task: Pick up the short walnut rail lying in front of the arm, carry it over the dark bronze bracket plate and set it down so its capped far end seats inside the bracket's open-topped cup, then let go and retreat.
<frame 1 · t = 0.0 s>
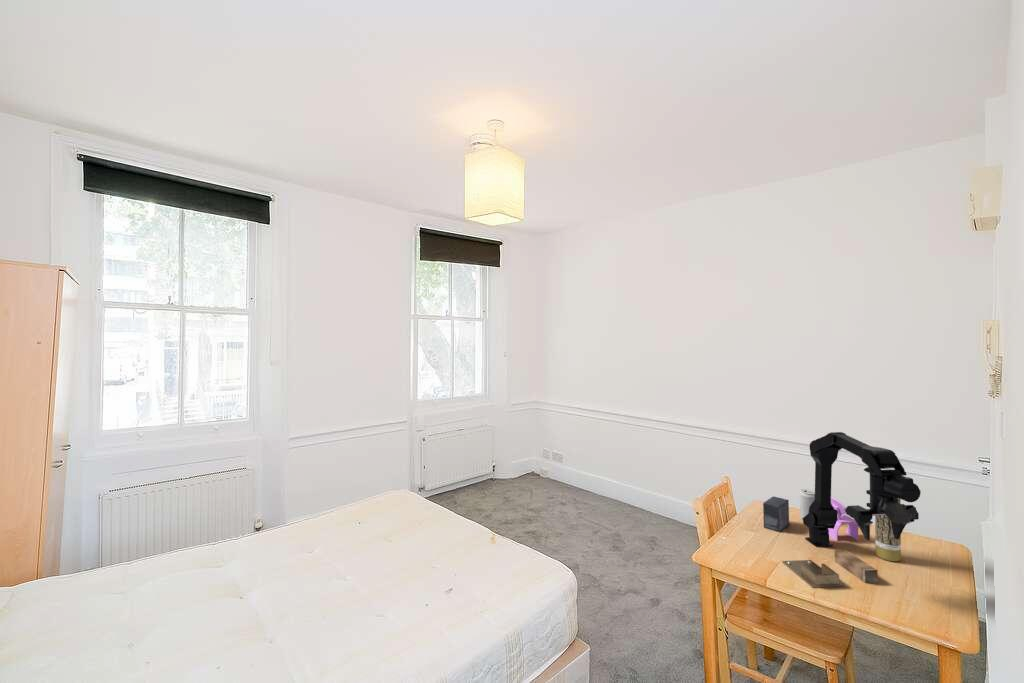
hand: (881, 539, 139), 15 cm above the table, fingers open, 9 cm apart
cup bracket: (810, 573, 148), on the table
walnut rail: (855, 571, 148), on the table
small box: (776, 526, 183), on the table
toy chair: (842, 537, 172), on the table
log-patterned cylinder: (888, 558, 156), on the table
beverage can: (809, 519, 188), on the table
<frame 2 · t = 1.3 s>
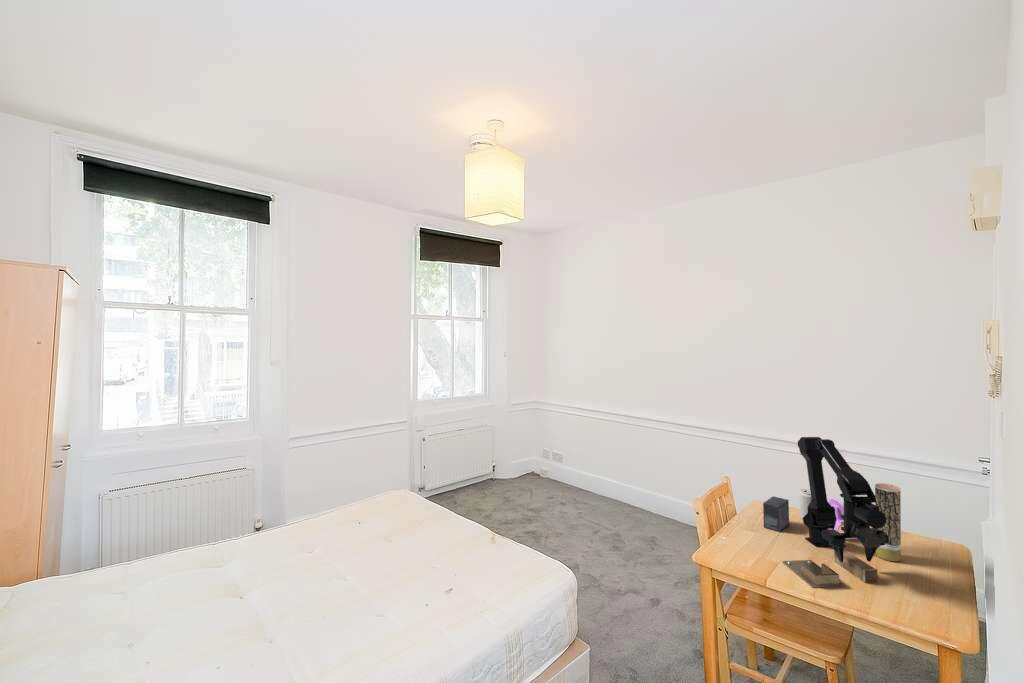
hand: (854, 561, 148), 3 cm above the table, fingers open, 9 cm apart
nothing on the table moved.
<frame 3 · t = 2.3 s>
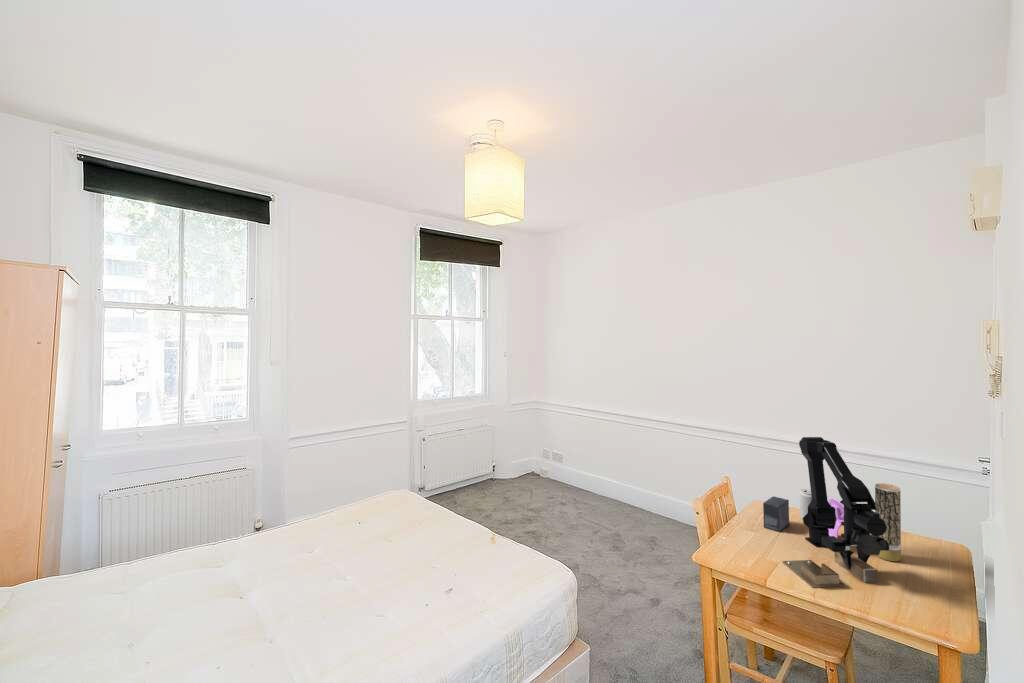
hand: (855, 568, 148), 1 cm above the table, fingers closed on walnut rail, 4 cm apart
walnut rail: (855, 571, 148), on the table, touching gripper
everything else where it was.
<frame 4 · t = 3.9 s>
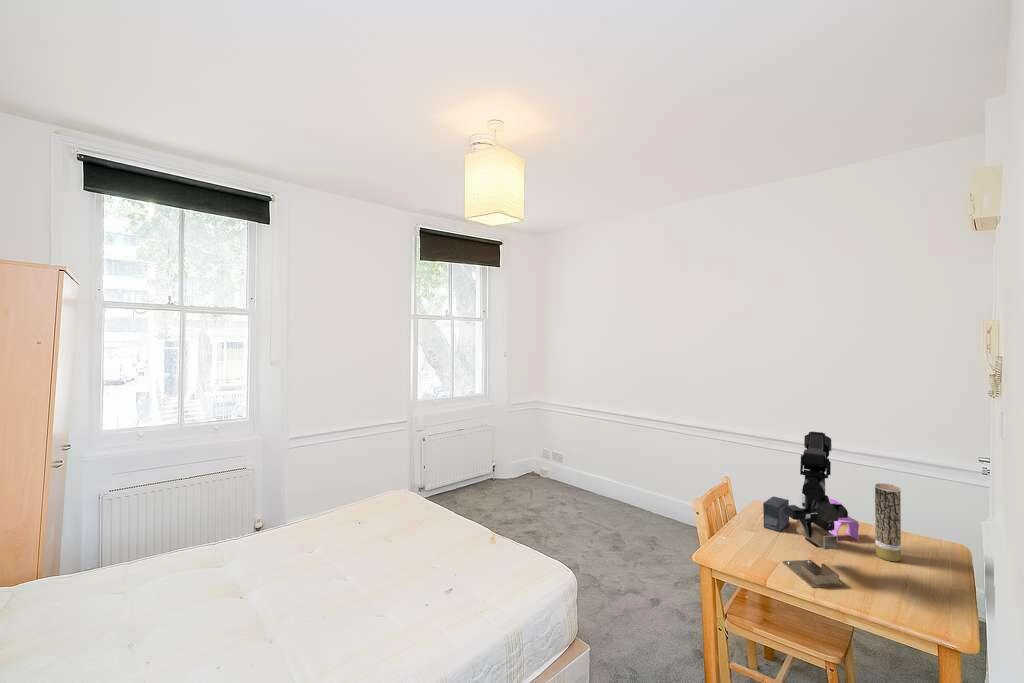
hand: (815, 536, 149), 11 cm above the table, fingers closed on walnut rail, 4 cm apart
walnut rail: (815, 539, 149), point 10 cm above the table, touching gripper
everything else where it was.
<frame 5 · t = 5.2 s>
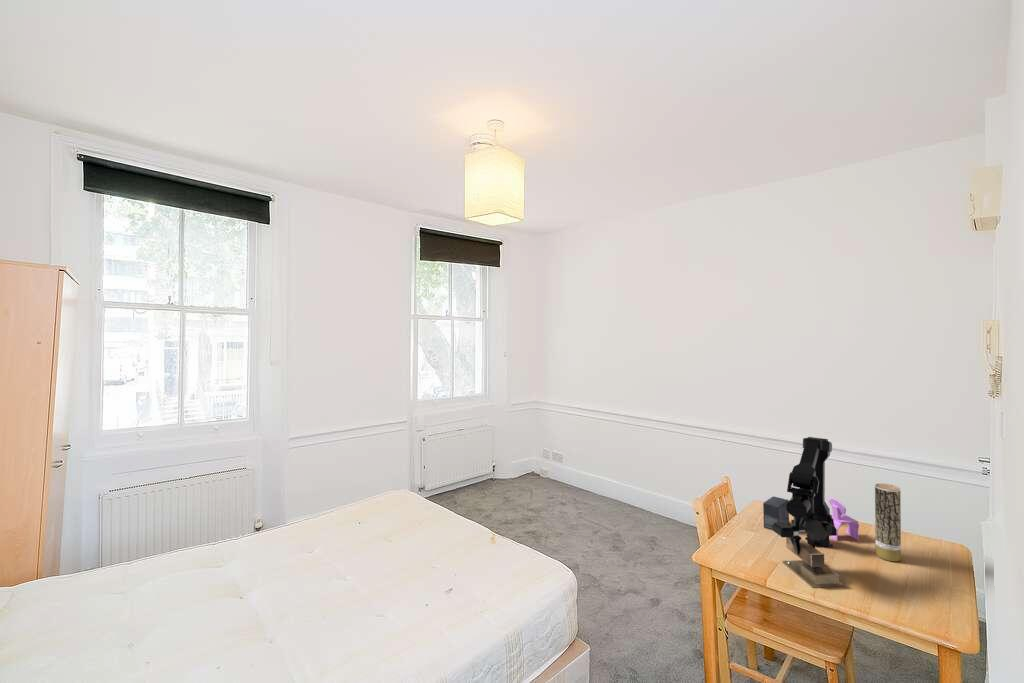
hand: (804, 553, 151), 5 cm above the table, fingers closed on walnut rail, 4 cm apart
walnut rail: (804, 556, 150), point 4 cm above the table, touching gripper
everything else where it was.
when the fingers open (3 cm above the table, at t = 5.9 s): walnut rail drops 1 cm, resting on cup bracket.
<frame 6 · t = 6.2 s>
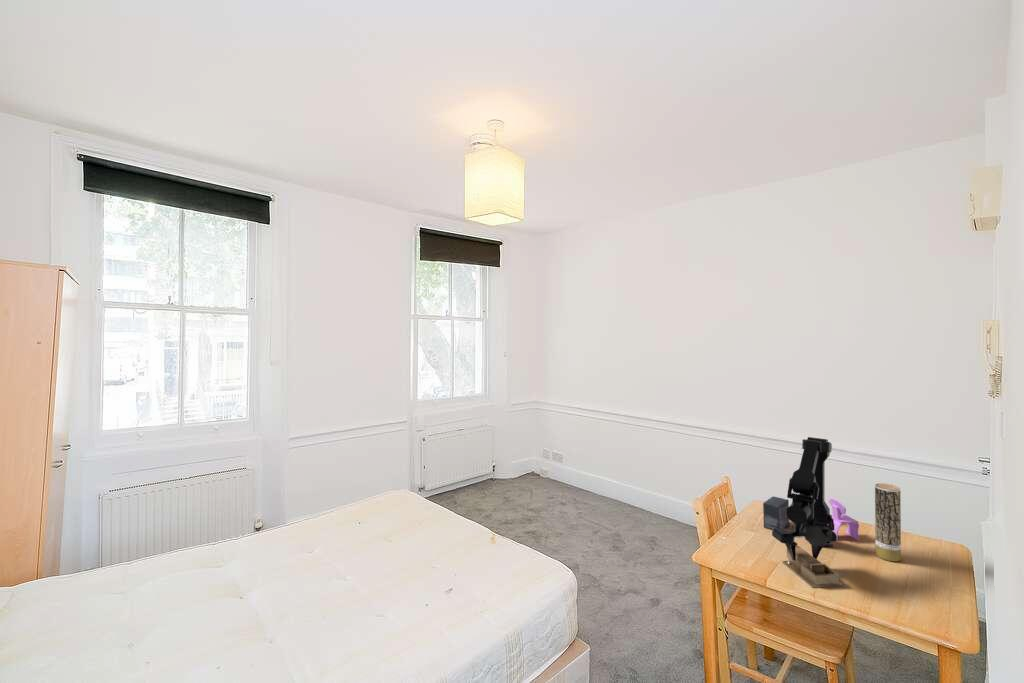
hand: (804, 559, 151), 3 cm above the table, fingers open, 7 cm apart
walnut rail: (804, 566, 151), point 1 cm above the table, touching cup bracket
everything else where it was.
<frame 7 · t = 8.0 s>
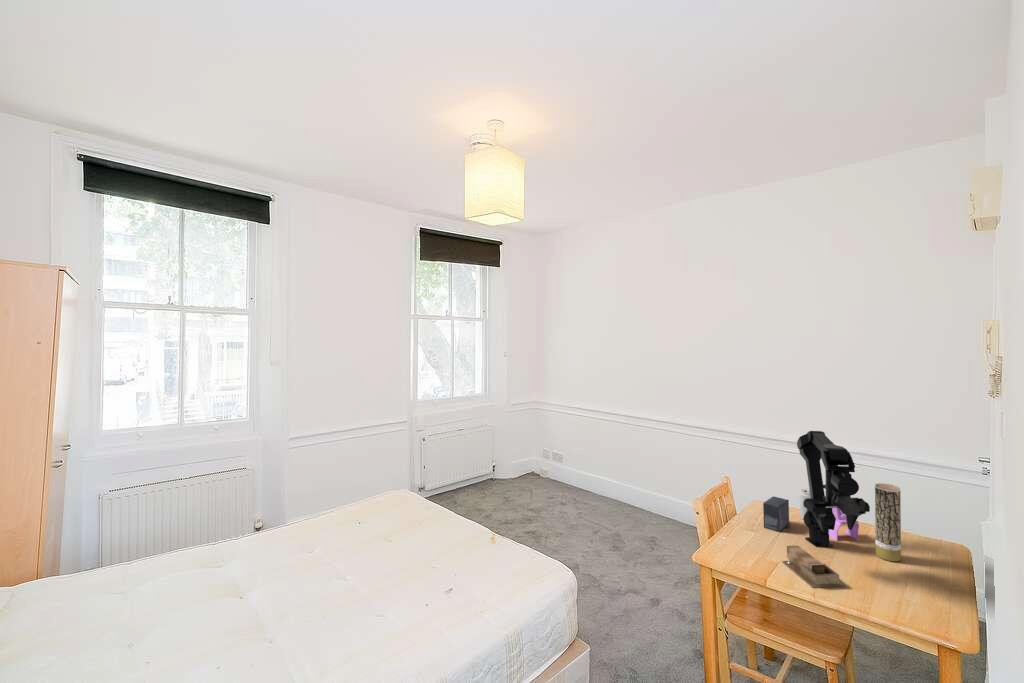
hand: (836, 529, 151), 12 cm above the table, fingers open, 9 cm apart
nothing on the table moved.
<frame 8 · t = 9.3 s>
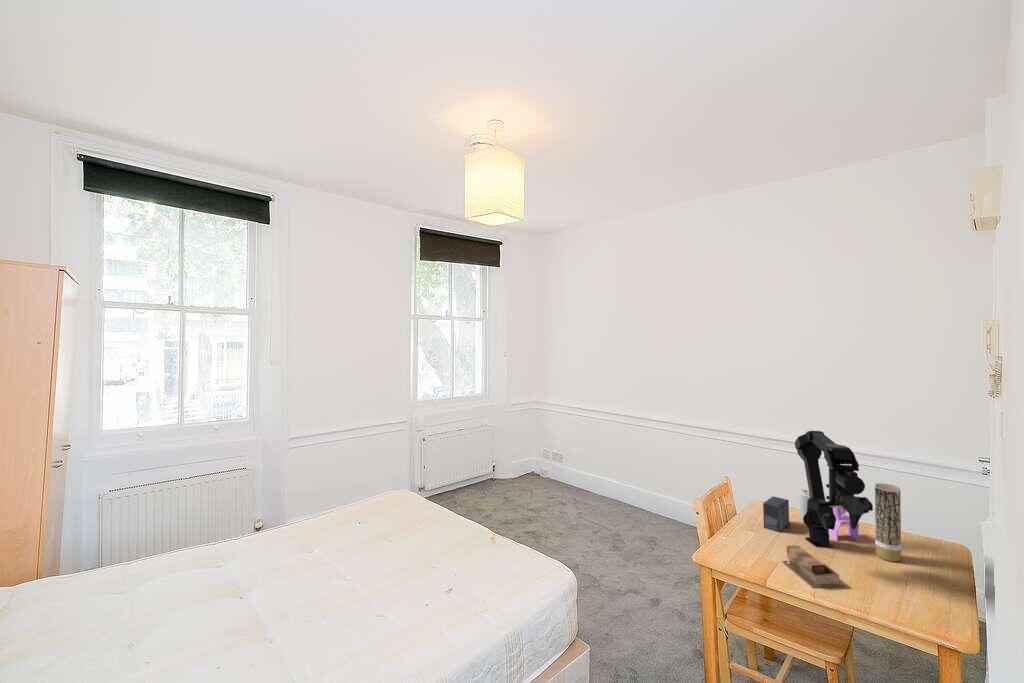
hand: (839, 529, 151), 13 cm above the table, fingers open, 9 cm apart
nothing on the table moved.
at the end: walnut rail 0.1 cm from the target spot on the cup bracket, point 0.6 cm above the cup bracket's base; walnut rail tilted 0°; the gripper is holding nothing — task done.
